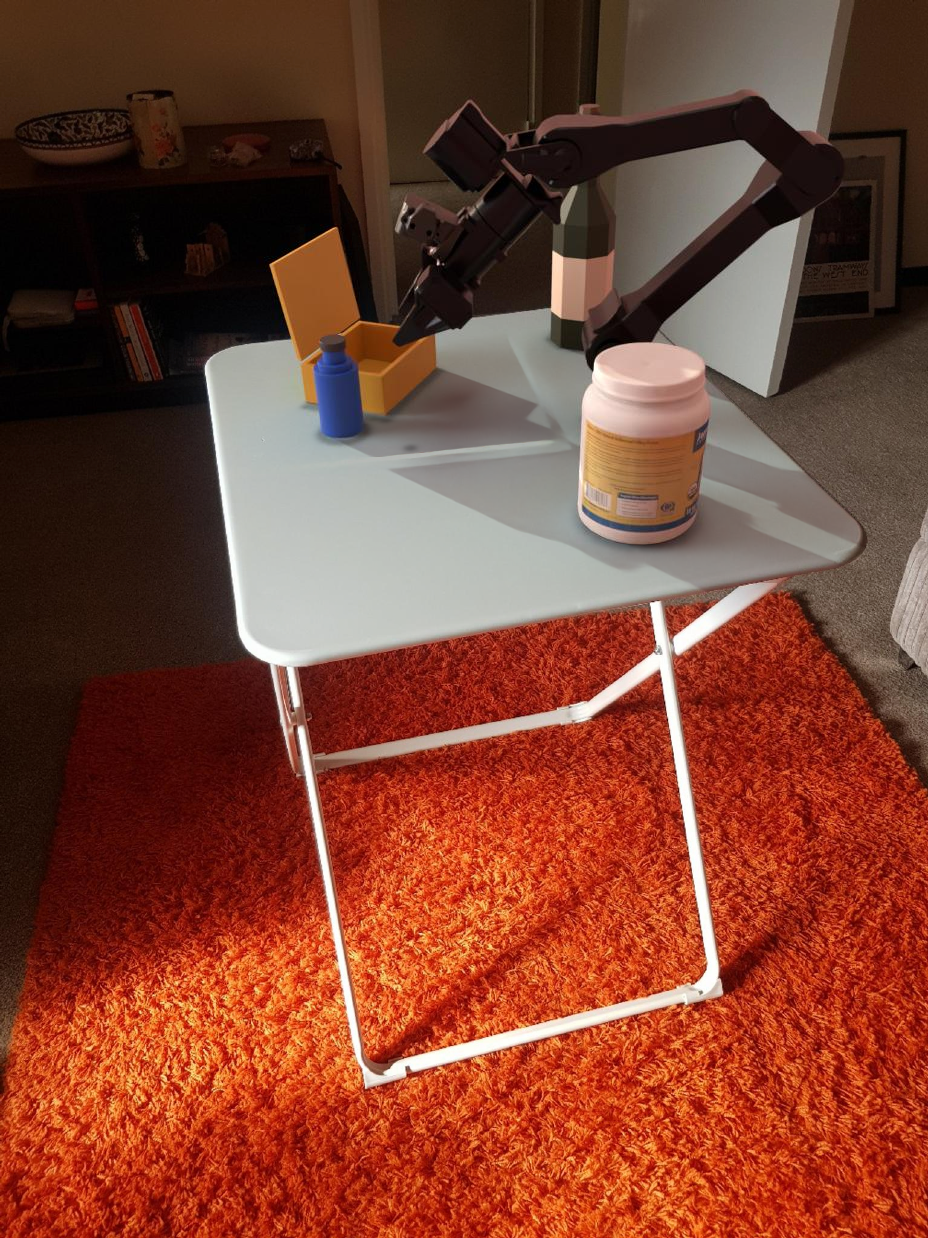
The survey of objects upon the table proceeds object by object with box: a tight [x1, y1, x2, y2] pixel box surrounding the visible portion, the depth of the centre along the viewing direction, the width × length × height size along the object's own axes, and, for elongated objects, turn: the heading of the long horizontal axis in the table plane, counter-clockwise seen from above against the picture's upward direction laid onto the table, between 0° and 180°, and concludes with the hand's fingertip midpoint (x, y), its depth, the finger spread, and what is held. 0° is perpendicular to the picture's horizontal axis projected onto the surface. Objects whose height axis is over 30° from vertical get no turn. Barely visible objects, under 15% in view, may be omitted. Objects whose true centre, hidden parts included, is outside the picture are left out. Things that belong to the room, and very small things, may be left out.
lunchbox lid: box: [269, 227, 361, 362], centre depth 124 cm, size 12×15×4 cm
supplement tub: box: [577, 342, 711, 545], centre depth 96 cm, size 12×12×17 cm
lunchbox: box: [300, 320, 438, 416], centre depth 127 cm, size 11×15×6 cm
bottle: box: [313, 334, 365, 439], centre depth 115 cm, size 5×5×12 cm
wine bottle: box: [550, 103, 617, 351], centre depth 130 cm, size 8×8×30 cm
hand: (398, 327), depth 110 cm, fingers open, 9 cm apart
